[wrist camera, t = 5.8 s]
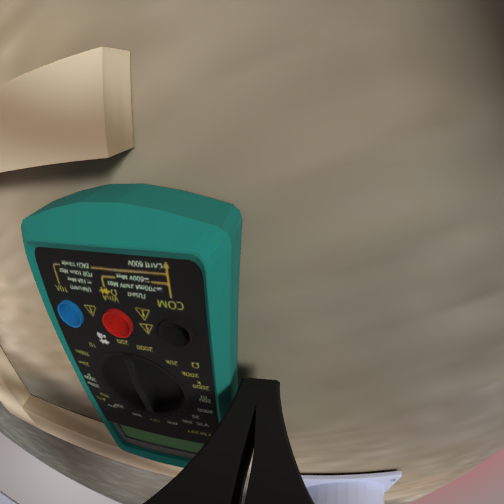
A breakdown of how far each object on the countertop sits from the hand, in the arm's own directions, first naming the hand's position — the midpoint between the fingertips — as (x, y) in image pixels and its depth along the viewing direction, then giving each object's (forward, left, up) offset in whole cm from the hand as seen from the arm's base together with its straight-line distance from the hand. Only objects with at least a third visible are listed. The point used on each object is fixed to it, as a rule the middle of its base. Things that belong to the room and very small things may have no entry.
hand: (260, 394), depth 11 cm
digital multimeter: (0, +4, -2) cm, 5 cm away
